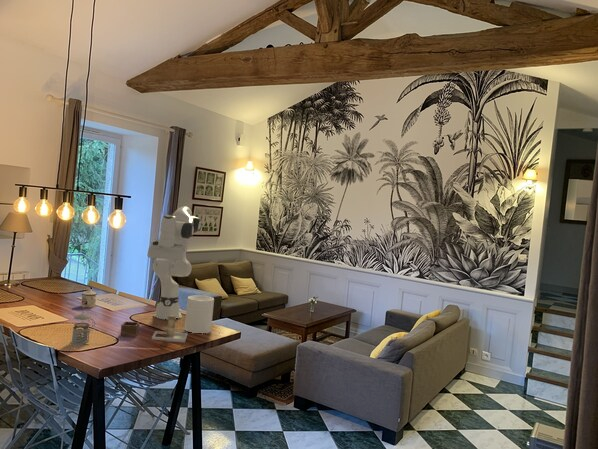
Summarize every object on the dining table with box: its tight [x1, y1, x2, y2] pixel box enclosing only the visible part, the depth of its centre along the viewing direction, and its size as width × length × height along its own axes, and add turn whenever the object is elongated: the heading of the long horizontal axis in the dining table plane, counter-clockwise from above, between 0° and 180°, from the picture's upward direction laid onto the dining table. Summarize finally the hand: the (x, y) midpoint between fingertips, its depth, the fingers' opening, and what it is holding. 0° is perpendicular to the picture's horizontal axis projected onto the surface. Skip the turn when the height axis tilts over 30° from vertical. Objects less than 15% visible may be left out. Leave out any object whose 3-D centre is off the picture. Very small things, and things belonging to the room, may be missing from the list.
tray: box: [151, 330, 189, 343], centre depth 248 cm, size 12×18×2 cm, turn 99°
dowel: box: [165, 316, 177, 338], centre depth 248 cm, size 4×4×12 cm
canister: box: [184, 294, 215, 335], centre depth 270 cm, size 16×16×20 cm
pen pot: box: [119, 320, 140, 338], centre depth 245 cm, size 8×8×7 cm
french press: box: [69, 295, 96, 347], centre depth 226 cm, size 10×12×25 cm
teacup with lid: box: [80, 288, 97, 309], centre depth 299 cm, size 12×9×12 cm
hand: (164, 266), depth 256 cm, fingers open, 8 cm apart
